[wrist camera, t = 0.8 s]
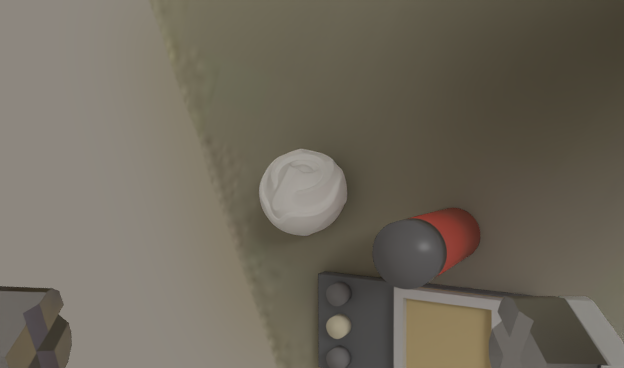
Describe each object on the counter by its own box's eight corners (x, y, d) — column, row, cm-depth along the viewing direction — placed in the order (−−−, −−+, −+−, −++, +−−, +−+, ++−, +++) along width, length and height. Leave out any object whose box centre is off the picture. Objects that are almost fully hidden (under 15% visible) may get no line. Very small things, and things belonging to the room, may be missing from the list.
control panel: (536, 296, 39) (532, 303, 37) (535, 409, 40) (531, 422, 38) (324, 271, 49) (312, 276, 47) (324, 362, 49) (312, 371, 47)
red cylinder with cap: (480, 208, 41) (438, 222, 31) (480, 261, 41) (437, 293, 31) (428, 206, 44) (372, 219, 33) (427, 257, 44) (372, 285, 33)
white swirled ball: (371, 168, 46) (332, 168, 39) (347, 243, 48) (305, 255, 41) (301, 141, 50) (254, 137, 43) (281, 212, 51) (232, 219, 45)
